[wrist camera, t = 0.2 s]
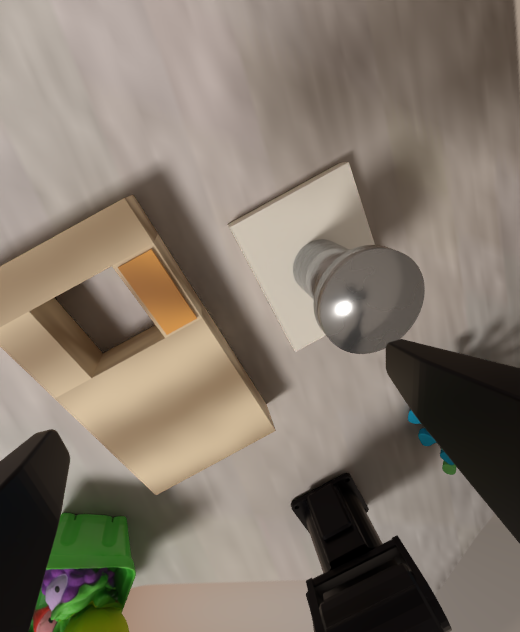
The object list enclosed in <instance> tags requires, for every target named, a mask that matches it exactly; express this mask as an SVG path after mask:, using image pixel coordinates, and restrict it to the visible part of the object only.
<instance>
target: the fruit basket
mask: <svg viewBox="0 0 520 632" xmlns="http://www.w3.org/2000/svg"><path fill="white" fill-rule="evenodd" d="M135 576H136V572H135V566H134V562H133V560H132V558H131V550H130V542H129V534H128V526H127V518H126V517H125V516H118V517H114V518H112V517H111V516H108V515H94V514H79V515H77V516H75V514H71V513H63V514H61V516H60V521H59V525H58V529H57V533H56V536H55V540H54V543H53V547H52V550H51V554H50V558H49V561H48V565H47V568H46V572H45V575H44V579H43V582H42V586H41V590H40V593H39V597H38V600H37V604H36V607H35V611H34V614H33V618H32V621H31V625H30V629H29V632H129V629H128V625H127V622H126V620H125V618H124V616H123V615H122V610H123V608H124V605H125V602H126V600H127V597H128V594H129V592H130V589H131V587H132V584H133V581H134V579H135Z"/></svg>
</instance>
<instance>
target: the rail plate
mask: <svg viewBox="0 0 520 632" xmlns="http://www.w3.org/2000/svg"><path fill="white" fill-rule="evenodd" d="M111 266H112V267H113V268H114V269H115V271H116V272H117V274H118V275H119V276H120V278H121V279H122V280H123V282H124V283H125V284H126V286H127V287H128V288H129V290H130V291H131V292H132V294H133V295H134V297H135V298H136V299H137V301H138V302H139V303H140V305H141V306H142V307H143V309H144V310H145V311H146V313H147V314H148V315H149V317H150V318H151V320H152V321H153V322H154V324H155V325H154V326H153V327H151V328H149V329H147V330H145V331H143V332H142V333H140V334H138V335H136V336H134V337H132V338H131V339H129V340H127V341H125V342H123V343H121V344H120V345H118V346H116V347H114V348H112V349H110V350H109V351H107V352H105V353H102V352H101V351H100V350H99V348H98V347H97V346H96V345H95V344H94V343H93V342H92V340H91V339H90V338H89V337H88V336H87V335H86V334H85V332H84V331H83V330H82V329H81V328H80V327H79V326H78V324H77V323H76V322H75V321H74V320H73V319H72V318H71V316H70V315H69V314H68V313H67V312H66V311H65V309H64V308H63V307H62V306H61V305H60V304H59V303H58V301H57V300H56V299H55V298H54V297H56V296H58V295H60V294H62V293H64V292H65V291H67V290H69V289H71V288H73V287H74V286H76V285H78V284H80V283H82V282H84V281H85V280H87V279H89V278H91V277H93V276H94V275H96V274H98V273H100V272H102V271H104V270H105V269H107V268H109V267H111ZM0 347H1V348H2V349H3V350H4V351H6V352H7V353H8V354H9V355H10V356H11V357H12V358H13V359H14V360H15V361H16V362H17V363H18V364H19V365H20V366H21V367H22V368H23V369H24V370H25V371H26V372H27V373H29V374H30V375H31V376H32V377H33V378H34V379H35V380H36V381H37V382H38V383H39V384H40V385H41V386H42V387H43V388H44V389H45V390H46V391H47V392H48V393H49V394H50V395H52V396H53V397H54V398H55V399H56V400H57V401H58V402H59V403H60V404H61V405H62V406H63V407H64V408H65V409H66V410H67V411H68V412H69V413H70V414H71V415H72V416H73V417H75V418H76V419H77V420H78V421H79V422H80V423H81V424H82V425H83V426H84V427H85V428H86V429H87V430H88V431H89V432H90V433H91V434H92V435H93V436H94V437H95V438H96V439H98V440H99V441H100V442H101V443H102V444H103V445H104V446H105V447H106V448H107V449H108V450H109V451H110V452H111V453H112V454H113V455H114V456H115V457H116V458H117V459H118V460H119V461H121V462H122V463H123V464H124V465H125V466H126V467H127V468H128V469H129V470H130V471H131V472H132V473H133V474H134V475H135V476H136V477H137V478H138V479H139V480H140V481H141V482H142V483H144V484H145V485H146V486H147V487H148V488H149V489H150V490H151V491H152V492H153V493H154V494H155V495H158V494H159V493H161V492H163V491H165V490H167V489H169V488H171V487H172V486H174V485H176V484H178V483H180V482H182V481H183V480H185V479H187V478H189V477H191V476H193V475H195V474H196V473H198V472H200V471H202V470H204V469H206V468H207V467H209V466H211V465H213V464H215V463H217V462H219V461H220V460H222V459H224V458H226V457H228V456H230V455H231V454H233V453H235V452H237V451H239V450H241V449H243V448H244V447H246V446H248V445H250V444H252V443H254V442H255V441H257V440H259V439H261V438H263V437H265V436H267V435H268V434H270V433H272V432H274V431H276V430H275V427H274V425H273V422H272V419H271V416H270V413H269V410H268V407H267V405H266V403H265V401H264V400H263V398H262V397H261V395H260V394H259V392H258V390H257V389H256V387H255V386H254V384H253V383H252V381H251V379H250V378H249V376H248V375H247V373H246V372H245V370H244V368H243V367H242V365H241V364H240V362H239V361H238V359H237V357H236V356H235V354H234V353H233V351H232V350H231V348H230V346H229V345H228V343H227V342H226V340H225V338H224V337H223V335H222V334H221V332H220V331H219V329H218V327H217V326H216V324H215V323H214V321H213V320H212V318H211V316H210V315H209V313H208V312H207V310H206V309H205V307H204V305H203V304H202V302H201V301H200V299H199V298H198V296H197V294H196V293H195V291H194V290H193V288H192V287H191V285H190V283H189V282H188V280H187V279H186V277H185V276H184V274H183V272H182V271H181V269H180V268H179V266H178V264H177V263H176V261H175V260H174V258H173V257H172V255H171V253H170V252H169V250H168V249H167V247H166V246H165V244H164V242H163V241H162V239H161V238H160V236H159V235H158V233H157V231H156V230H155V228H154V227H153V225H152V224H151V222H150V220H149V219H148V217H147V216H146V214H145V213H144V211H143V209H142V208H141V206H140V205H139V203H138V202H137V200H136V198H135V197H134V195H131V196H128V197H126V198H123V199H122V200H120V201H118V202H116V203H114V204H112V205H111V206H109V207H107V208H105V209H103V210H102V211H100V212H98V213H96V214H94V215H92V216H91V217H89V218H87V219H85V220H83V221H82V222H80V223H78V224H76V225H74V226H73V227H71V228H69V229H67V230H65V231H63V232H62V233H60V234H58V235H56V236H54V237H53V238H51V239H49V240H47V241H45V242H43V243H42V244H40V245H38V246H36V247H34V248H33V249H31V250H29V251H27V252H25V253H24V254H22V255H20V256H18V257H16V258H14V259H13V260H11V261H9V262H7V263H5V264H4V265H2V266H0Z"/></svg>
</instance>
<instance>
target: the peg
mask: <svg viewBox="0 0 520 632" xmlns="http://www.w3.org/2000/svg"><path fill="white" fill-rule="evenodd" d="M293 275H294V278H295V281H296V282H297V284H298V285H299V286H300V287H301V288H302V289H303V290H304V291H305V292H306V293H307V294H308V295H309V296H310V297H311V298H312V299H313V300H314V304H313V306H314V314H315V318H316V321H317V323H318V325H319V327H320V329H321V330H322V331H323V332H324V334H325V335H326V336H327V337H328V338H329V339H330V340H331V342H333V343H334V344H335V345H336V346H337V347H339V348H340V349H342V350H344V351H347V352H350V353H356V354H366V353H372V352H377V351H379V350H382V349H384V348H386V345H387V343H388V342H391V341H395V340H399V339H400V338H401V337H402V336H404V335H405V334H406V332H407V331H408V330H409V329H410V328H411V326H412V325H413V324H414V322H415V320H416V319H417V317H418V315H419V313H420V310H421V307H422V304H423V300H424V291H425V290H424V280H423V276H422V273H421V271H420V269H419V267H418V266H417V264H416V263H415V262H414V261H413V260H412V259H411V258H410V257H408V256H407V255H405V254H403V253H401V252H399V251H396V250H393V249H391V248H388V247H384V246H381V245H365V246H360V247H357V248H354V249H351V250H350V249H348V248H345V247H343V246H341V245H339V244H337V243H334V242H332V241H330V240H326V239H319V240H314V241H312V242H309V243H308V244H306V245H305V246H304V247H303V248H302V249H301V250H300V251H299V252H298V254H297V256H296V258H295V260H294V264H293Z"/></svg>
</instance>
